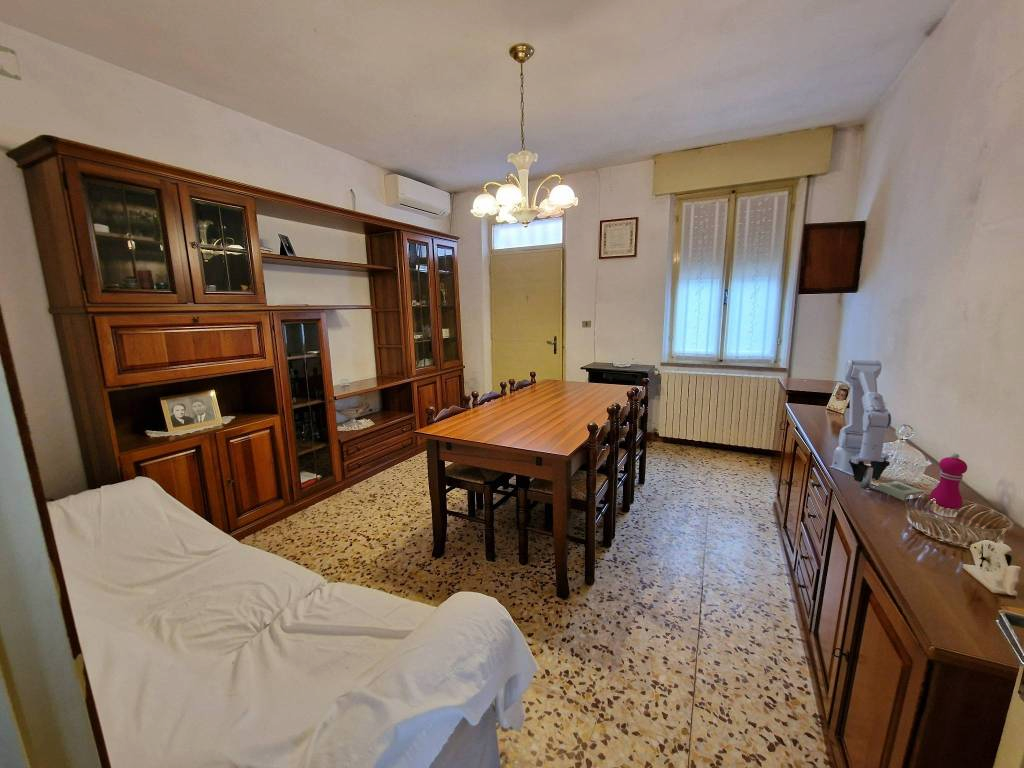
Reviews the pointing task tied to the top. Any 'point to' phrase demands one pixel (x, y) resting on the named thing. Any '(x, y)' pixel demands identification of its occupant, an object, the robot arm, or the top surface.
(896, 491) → the socket block
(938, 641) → the top surface
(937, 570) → the top surface
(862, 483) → the peg
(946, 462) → the pepper mill
